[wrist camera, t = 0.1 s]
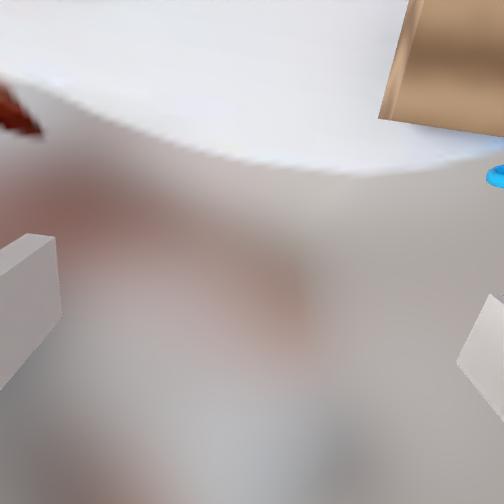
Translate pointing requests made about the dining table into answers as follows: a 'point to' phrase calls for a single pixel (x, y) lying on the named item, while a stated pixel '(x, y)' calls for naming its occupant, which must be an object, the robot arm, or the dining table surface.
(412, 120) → the block
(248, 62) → the dining table surface
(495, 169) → the mug
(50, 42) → the dining table surface
